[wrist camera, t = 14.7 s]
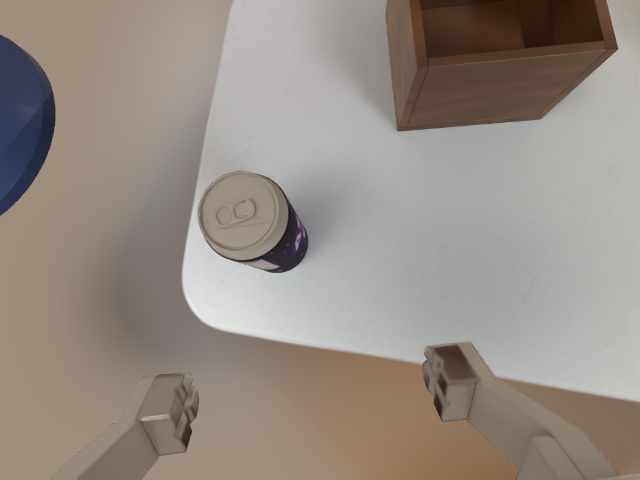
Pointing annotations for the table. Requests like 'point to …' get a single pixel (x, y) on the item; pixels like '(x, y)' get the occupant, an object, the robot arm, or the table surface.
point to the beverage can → (252, 222)
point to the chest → (491, 57)
